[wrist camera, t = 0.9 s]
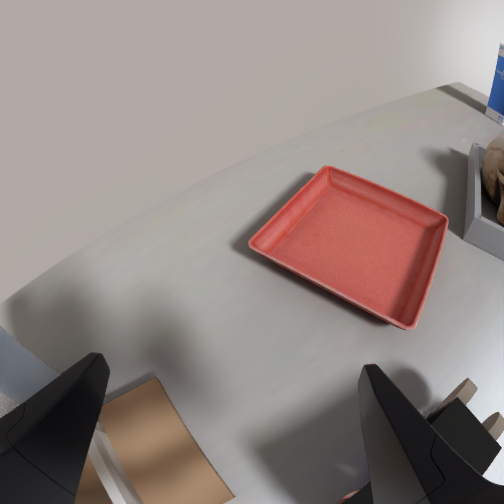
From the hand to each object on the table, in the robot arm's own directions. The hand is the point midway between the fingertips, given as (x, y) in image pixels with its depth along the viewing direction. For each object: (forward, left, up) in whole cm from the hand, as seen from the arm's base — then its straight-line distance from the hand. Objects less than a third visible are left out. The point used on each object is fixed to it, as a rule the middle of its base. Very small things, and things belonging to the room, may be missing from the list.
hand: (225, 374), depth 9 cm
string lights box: (+104, -25, -16) cm, 108 cm away
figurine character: (+3, -13, -16) cm, 21 cm away
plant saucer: (+23, +1, -16) cm, 28 cm away
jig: (-13, +8, -15) cm, 22 cm away
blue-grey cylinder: (-10, +17, -15) cm, 25 cm away
